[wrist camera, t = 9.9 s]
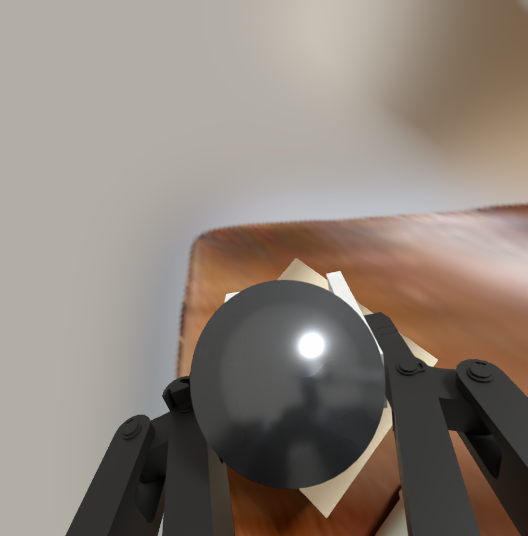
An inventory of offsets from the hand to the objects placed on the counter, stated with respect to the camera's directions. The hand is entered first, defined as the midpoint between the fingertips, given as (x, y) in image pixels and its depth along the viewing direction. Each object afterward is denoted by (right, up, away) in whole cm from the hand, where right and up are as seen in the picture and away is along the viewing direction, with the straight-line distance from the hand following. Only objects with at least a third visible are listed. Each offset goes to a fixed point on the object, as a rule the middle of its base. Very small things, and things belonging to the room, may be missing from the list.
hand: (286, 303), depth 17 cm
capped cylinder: (+1, -5, +2) cm, 5 cm away
